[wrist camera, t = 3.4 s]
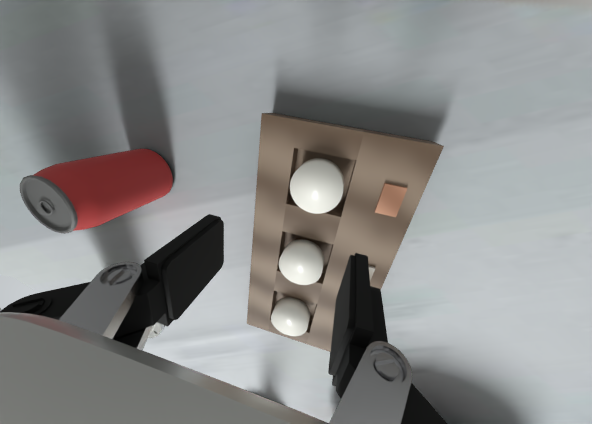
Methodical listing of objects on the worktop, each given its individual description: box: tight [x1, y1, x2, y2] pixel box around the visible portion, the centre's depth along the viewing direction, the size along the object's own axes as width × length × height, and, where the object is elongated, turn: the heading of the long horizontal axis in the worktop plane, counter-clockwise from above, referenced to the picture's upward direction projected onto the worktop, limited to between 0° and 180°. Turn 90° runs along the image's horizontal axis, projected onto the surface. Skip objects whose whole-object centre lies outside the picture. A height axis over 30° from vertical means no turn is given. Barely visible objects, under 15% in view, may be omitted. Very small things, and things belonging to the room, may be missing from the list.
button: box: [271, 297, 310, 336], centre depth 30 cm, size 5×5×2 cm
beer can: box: [20, 149, 173, 234], centre depth 25 cm, size 7×7×12 cm
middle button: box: [279, 239, 324, 285], centre depth 26 cm, size 5×5×2 cm
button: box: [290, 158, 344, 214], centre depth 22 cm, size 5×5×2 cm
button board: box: [247, 113, 444, 352], centre depth 27 cm, size 30×16×3 cm, turn 172°
